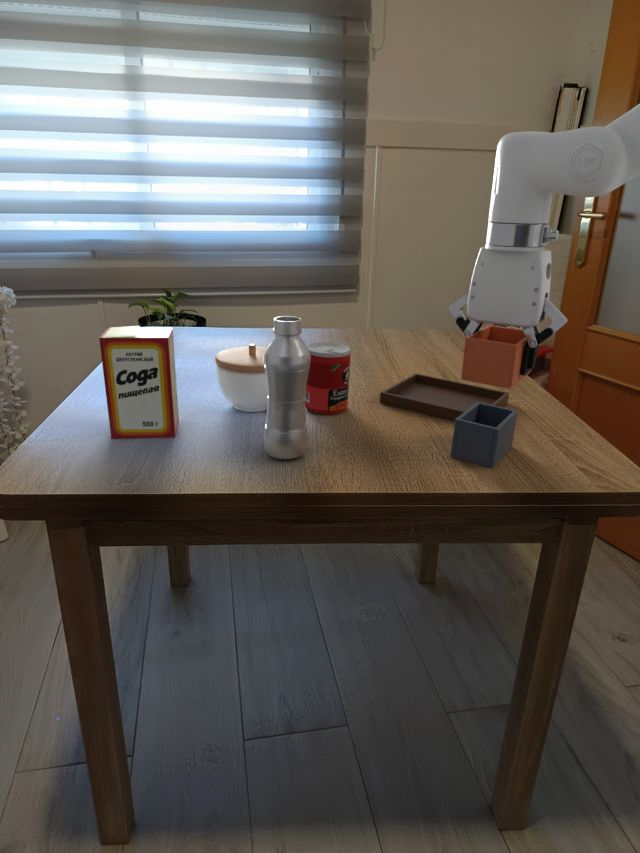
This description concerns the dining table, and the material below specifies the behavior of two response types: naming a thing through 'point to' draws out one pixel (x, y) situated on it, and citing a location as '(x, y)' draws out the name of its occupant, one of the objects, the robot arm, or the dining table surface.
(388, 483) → the dining table surface
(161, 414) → the baking soda box
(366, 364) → the dining table surface
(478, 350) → the terracotta tub
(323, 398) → the canned food
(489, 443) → the grey tub
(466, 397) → the tray
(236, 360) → the lidded bowl
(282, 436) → the silver metal bottle
